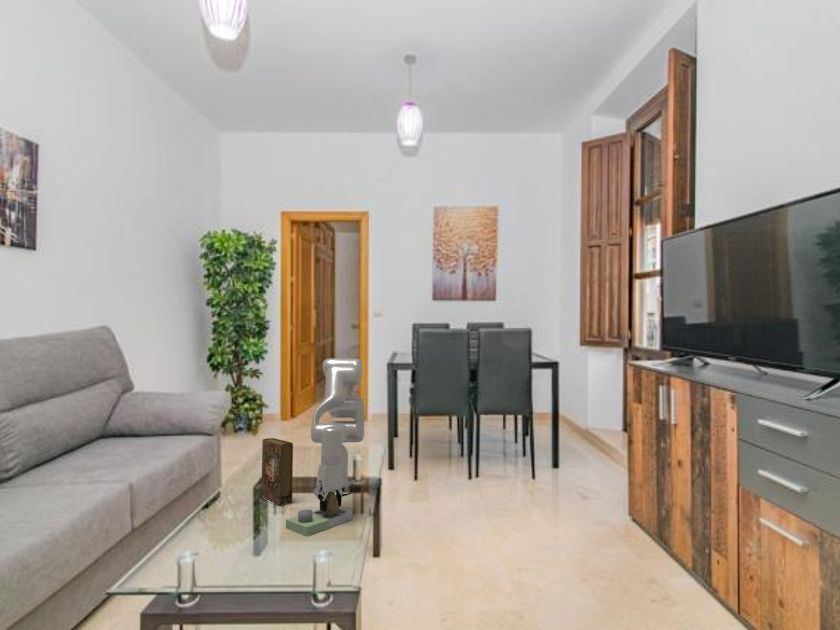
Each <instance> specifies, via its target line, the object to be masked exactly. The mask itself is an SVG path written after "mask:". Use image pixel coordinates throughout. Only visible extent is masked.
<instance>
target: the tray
mask: <svg viewBox="0 0 840 630" xmlns="http://www.w3.org/2000/svg"><path fill="white" fill-rule="evenodd" d="M312 514H314V515H316V516H319V517H322V518H325V519H328V520H329V529H330V528H333V527H336V526H339V525H341V524H345V523H347V522H351V521H352V520H353V512H352V511H351V510H348V509H344V508H341V507H339V510H338V514H337V515H336V516H334V517H331V518H327V517H325V516H324V514H323V511H321V510H320V509H318V510H314V511H313V510H312Z"/></svg>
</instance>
